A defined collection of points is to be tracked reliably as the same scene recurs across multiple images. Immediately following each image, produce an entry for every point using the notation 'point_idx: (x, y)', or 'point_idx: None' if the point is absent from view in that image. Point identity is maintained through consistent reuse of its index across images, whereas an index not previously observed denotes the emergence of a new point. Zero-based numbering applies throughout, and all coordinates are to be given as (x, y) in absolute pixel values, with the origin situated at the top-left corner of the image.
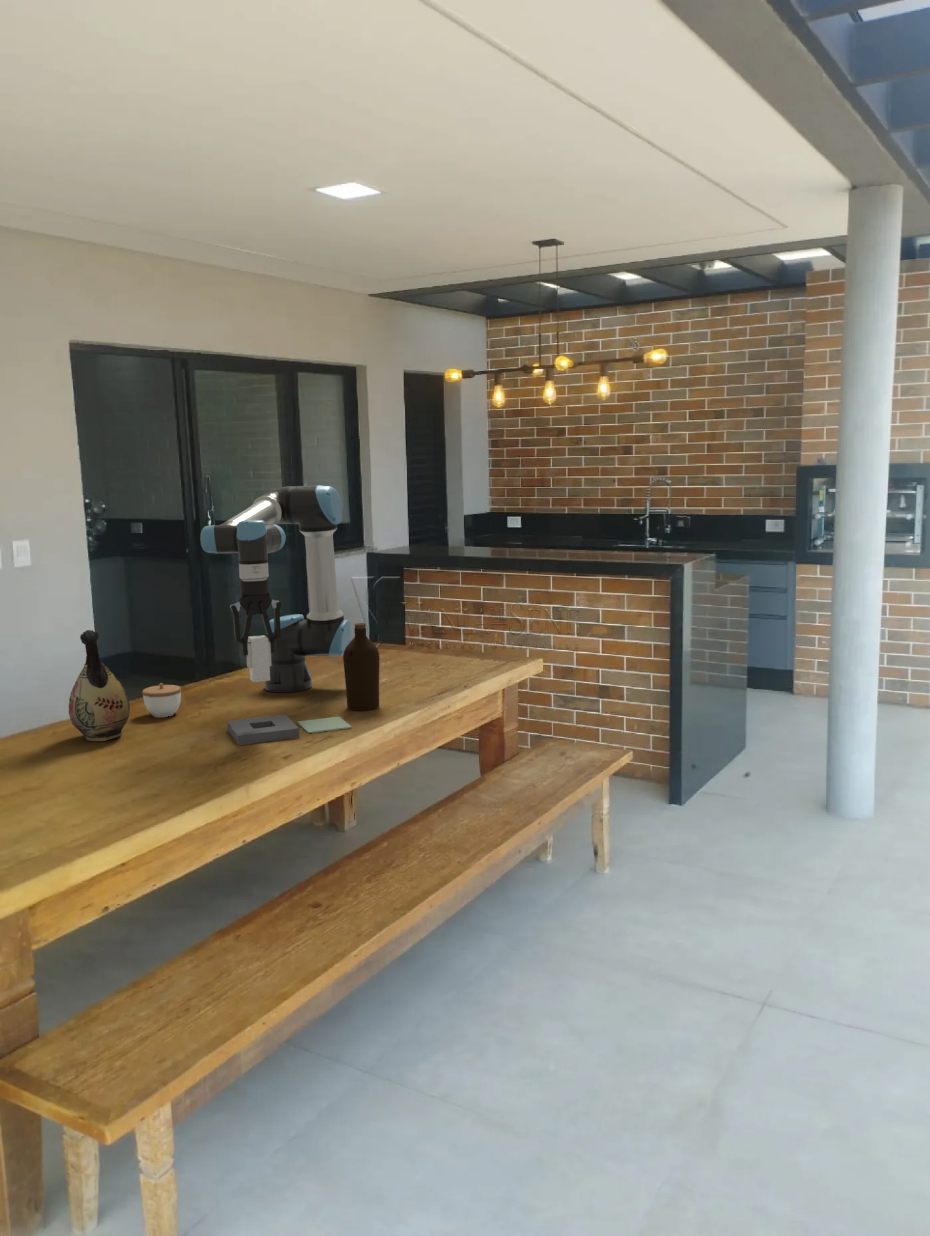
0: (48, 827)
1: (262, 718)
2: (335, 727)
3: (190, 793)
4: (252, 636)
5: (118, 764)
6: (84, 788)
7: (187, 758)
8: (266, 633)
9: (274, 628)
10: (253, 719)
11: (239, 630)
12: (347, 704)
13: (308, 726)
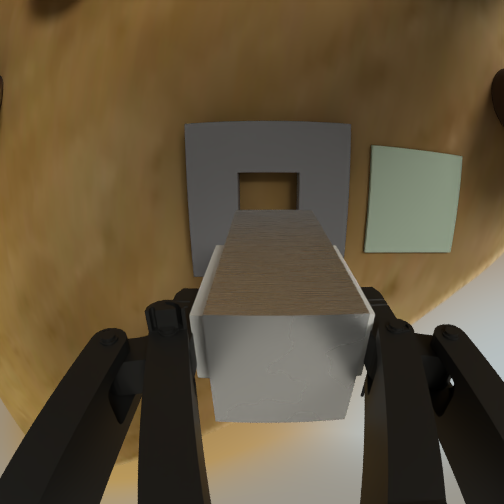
0: (31, 423)
1: (283, 136)
2: (424, 243)
3: (129, 429)
4: (250, 323)
5: (15, 280)
6: (13, 354)
7: (103, 304)
8: (381, 357)
9: (455, 387)
10: (257, 135)
11: (115, 449)
12: (496, 90)
13: (381, 204)
